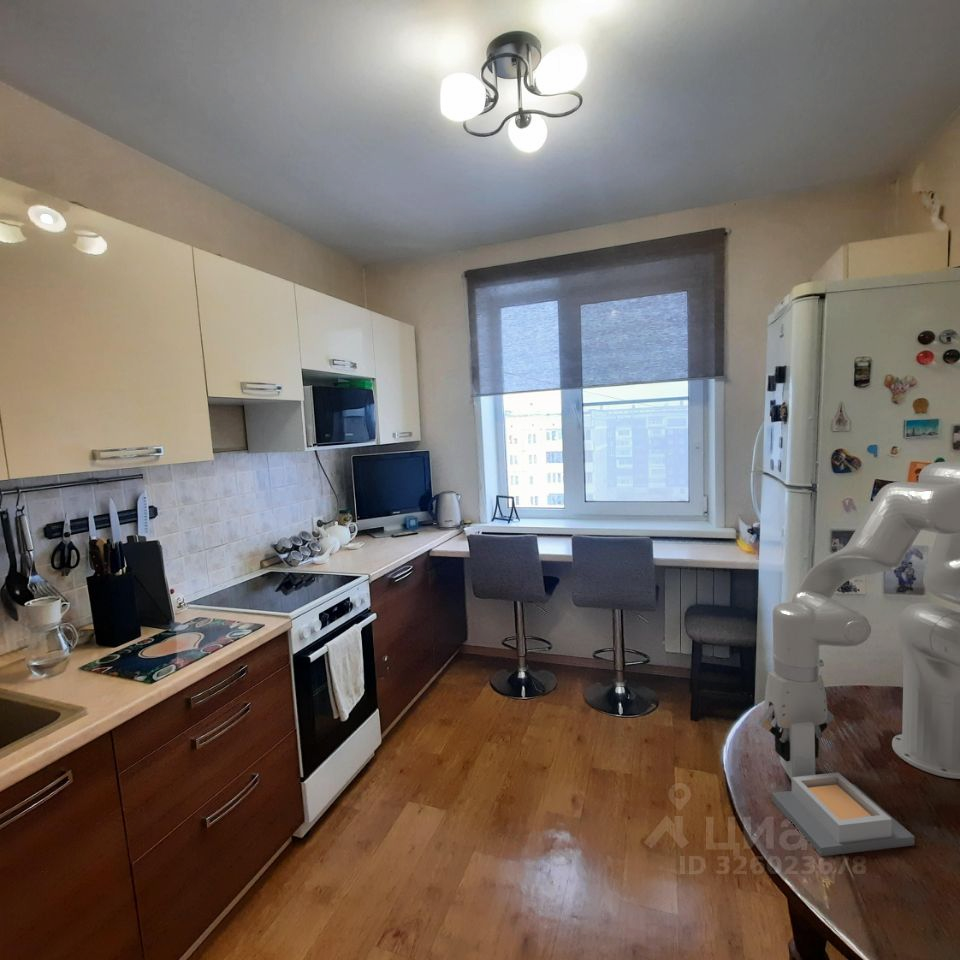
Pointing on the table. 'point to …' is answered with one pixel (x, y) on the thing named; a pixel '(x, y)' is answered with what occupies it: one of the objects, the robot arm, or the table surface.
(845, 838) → the panel
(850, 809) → the button
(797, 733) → the skincare box
